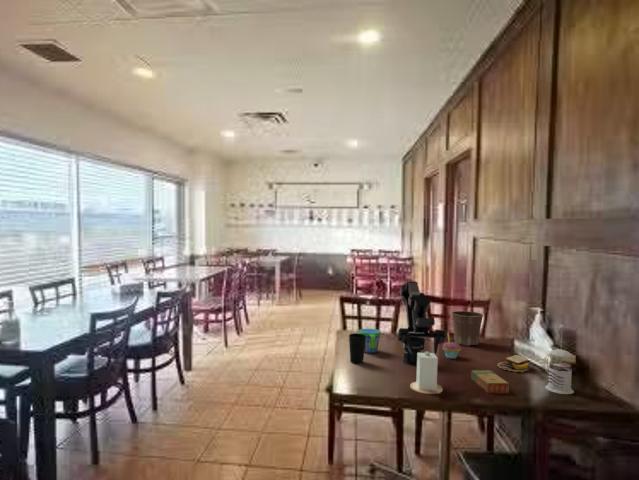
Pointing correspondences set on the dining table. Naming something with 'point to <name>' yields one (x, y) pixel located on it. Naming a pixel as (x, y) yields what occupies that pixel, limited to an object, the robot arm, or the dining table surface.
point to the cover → (427, 371)
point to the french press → (559, 372)
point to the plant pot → (467, 327)
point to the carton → (490, 381)
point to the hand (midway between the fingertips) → (423, 354)
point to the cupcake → (451, 348)
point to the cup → (357, 347)
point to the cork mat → (415, 388)
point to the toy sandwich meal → (515, 364)
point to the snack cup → (371, 339)
